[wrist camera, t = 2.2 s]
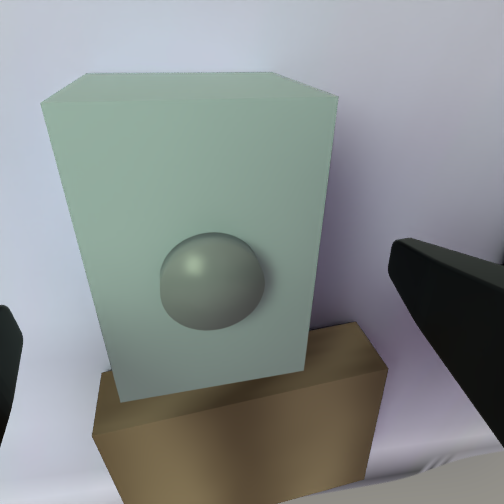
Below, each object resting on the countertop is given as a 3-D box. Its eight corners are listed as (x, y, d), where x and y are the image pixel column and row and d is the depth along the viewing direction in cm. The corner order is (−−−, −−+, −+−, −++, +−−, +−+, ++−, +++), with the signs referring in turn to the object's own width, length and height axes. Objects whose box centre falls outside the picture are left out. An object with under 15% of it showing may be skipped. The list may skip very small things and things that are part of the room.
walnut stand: (355, 321, 18) (388, 368, 15) (340, 429, 23) (363, 479, 20) (101, 372, 16) (91, 436, 14) (143, 479, 21) (141, 541, 18)
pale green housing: (272, 72, 12) (351, 101, 7) (264, 279, 16) (310, 386, 11) (86, 73, 10) (29, 109, 6) (130, 295, 15) (118, 421, 10)
